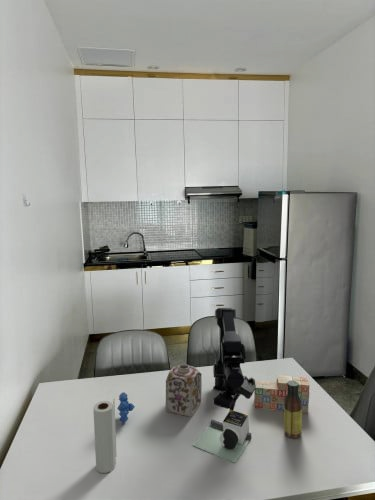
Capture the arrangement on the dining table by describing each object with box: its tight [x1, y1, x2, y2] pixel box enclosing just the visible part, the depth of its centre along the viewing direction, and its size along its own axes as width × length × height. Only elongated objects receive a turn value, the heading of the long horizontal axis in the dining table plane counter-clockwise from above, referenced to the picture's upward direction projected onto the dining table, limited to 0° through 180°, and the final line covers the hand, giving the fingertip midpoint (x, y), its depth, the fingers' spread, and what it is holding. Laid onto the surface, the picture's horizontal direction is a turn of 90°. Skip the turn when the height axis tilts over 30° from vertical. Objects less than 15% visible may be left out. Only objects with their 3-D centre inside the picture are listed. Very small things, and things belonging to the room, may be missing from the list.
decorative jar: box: [165, 363, 203, 418], centre depth 148 cm, size 12×12×18 cm
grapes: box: [117, 392, 136, 424], centre depth 139 cm, size 12×7×12 cm, turn 10°
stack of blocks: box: [253, 375, 310, 414], centre depth 149 cm, size 21×6×12 cm, turn 80°
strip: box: [210, 419, 252, 441], centre depth 134 cm, size 16×1×2 cm, turn 59°
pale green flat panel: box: [192, 426, 250, 464], centre depth 127 cm, size 16×12×1 cm
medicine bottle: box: [219, 409, 250, 449], centre depth 128 cm, size 7×7×12 cm
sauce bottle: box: [283, 381, 303, 439], centre depth 131 cm, size 6×6×20 cm
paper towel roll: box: [93, 398, 117, 474], centre depth 115 cm, size 7×6×21 cm
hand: (231, 410), depth 134 cm, fingers closed
